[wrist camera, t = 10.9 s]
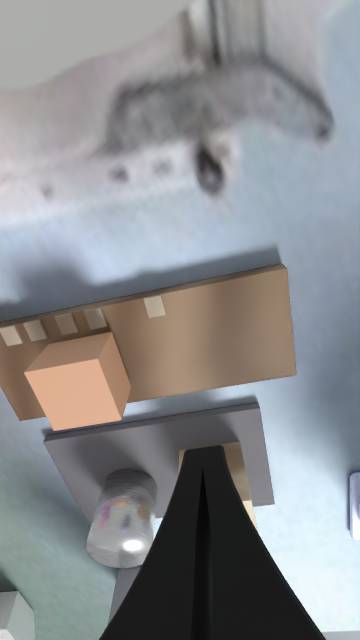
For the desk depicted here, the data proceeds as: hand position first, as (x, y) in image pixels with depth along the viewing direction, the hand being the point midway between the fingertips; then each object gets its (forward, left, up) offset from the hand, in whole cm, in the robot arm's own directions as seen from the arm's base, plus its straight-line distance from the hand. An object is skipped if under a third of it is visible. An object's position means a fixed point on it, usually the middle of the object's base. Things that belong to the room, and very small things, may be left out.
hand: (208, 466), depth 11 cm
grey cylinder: (+8, +11, -9) cm, 17 cm away
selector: (+7, -1, -8) cm, 11 cm away
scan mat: (+5, +10, -9) cm, 15 cm away
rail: (+4, -1, -9) cm, 10 cm away
